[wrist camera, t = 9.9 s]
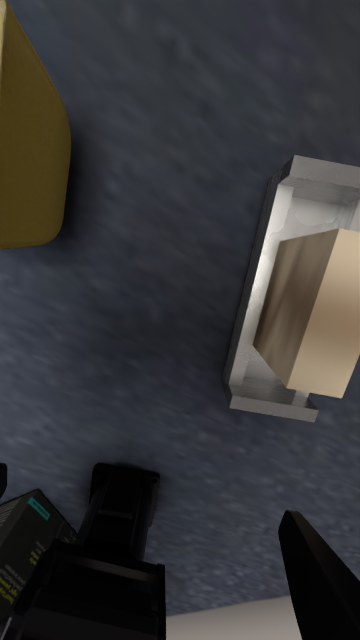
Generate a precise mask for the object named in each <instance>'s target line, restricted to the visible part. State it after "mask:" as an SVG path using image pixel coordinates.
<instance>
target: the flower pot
mask: <svg viewBox="0 0 360 640" xmlns="http://www.w3.org/2000/svg"><path fill="white" fill-rule="evenodd" d="M70 156H71V132H70V125H69V120H68V116H67V112H66V109H65V106H64V104H63V101H62V99H61V97H60V95H59V93H58V91H57V89H56V87H55V85H54V83H53V82H52V80H51V78H50V76H49V75H48V73H47V71H46V69H45V67H44V66H43V64H42V62H41V60H40V58H39V57H38V55H37V53H36V51H35V50H34V48H33V46H32V44H31V42H30V41H29V39H28V37H27V35H26V34H25V32H24V30H23V28H22V27H21V25H20V23H19V21H18V20H17V18H16V16H15V14H14V13H13V11H12V9H11V7H10V5H9V4H8V2H7V0H0V249H9V248H20V247H29V246H38V245H43V244H46V243H48V242H50V241H52V240H53V239H54V238H55V237H56V236H57V235H58V233H59V231H60V229H61V226H62V222H63V218H64V207H65V199H66V190H67V182H68V174H69V166H70Z"/></svg>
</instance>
